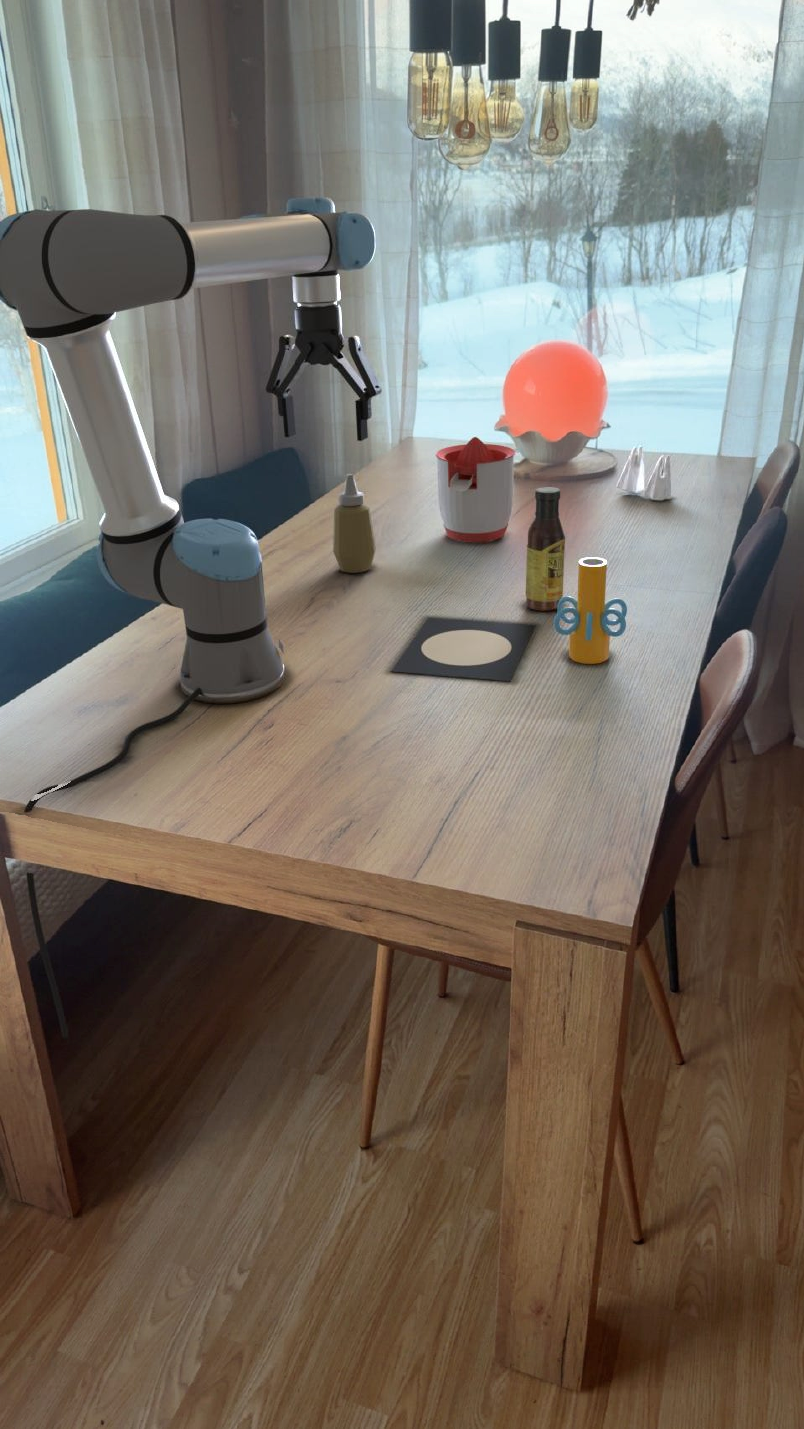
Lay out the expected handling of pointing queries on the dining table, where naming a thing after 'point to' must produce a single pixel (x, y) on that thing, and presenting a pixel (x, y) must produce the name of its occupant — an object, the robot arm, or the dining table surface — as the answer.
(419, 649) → the mat
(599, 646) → the cylinder
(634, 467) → the shaker set
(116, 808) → the dining table surface
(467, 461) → the citrus juicer
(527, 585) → the sauce bottle
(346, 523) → the squeeze bottle
